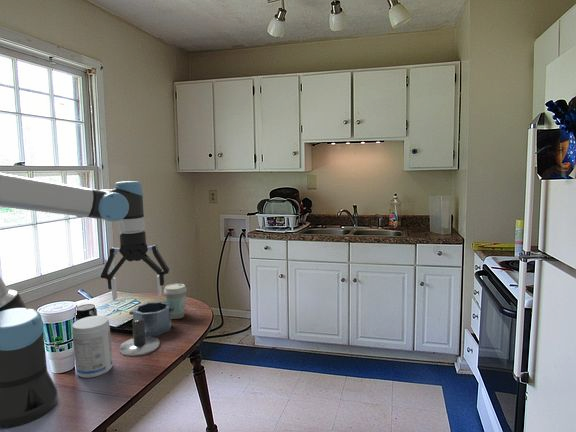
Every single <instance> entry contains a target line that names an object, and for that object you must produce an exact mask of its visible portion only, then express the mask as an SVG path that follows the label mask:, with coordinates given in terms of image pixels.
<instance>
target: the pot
mask: <svg viewBox="0 0 576 432" xmlns="http://www.w3.org/2000/svg"><path fill="white" fill-rule="evenodd" d="M171 311H174V307H170V304H169V303H166V301H153V302H152V301H149V302H145V303H143V304H140V305H136V306H135V307H134V308H133V310H132V309H131V310H129V315H130V316H131V315H132V318H133V320H134V319H137V318H143V319H144V324H145V336H151V337H155V336H157V337H158V336H160V335H163V334H164V333H168V332H171V328H172V319H171ZM133 320H132V321H133Z"/></svg>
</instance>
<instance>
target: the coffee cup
mask: <svg viewBox="0 0 576 432" xmlns="http://www.w3.org/2000/svg"><path fill="white" fill-rule="evenodd" d="M186 293H187V287H186V285H185V284H184V283H171V284H167V285H165V286H164V289H163V294H164V297H165V298H164V299H165V303H169V304H170V307H174V311H171V320H178V319H182V318H184V317H185V312H186V311H185V310H186V298H187V297H186V296H187V294H186Z"/></svg>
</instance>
